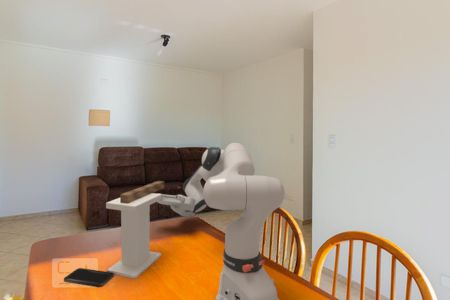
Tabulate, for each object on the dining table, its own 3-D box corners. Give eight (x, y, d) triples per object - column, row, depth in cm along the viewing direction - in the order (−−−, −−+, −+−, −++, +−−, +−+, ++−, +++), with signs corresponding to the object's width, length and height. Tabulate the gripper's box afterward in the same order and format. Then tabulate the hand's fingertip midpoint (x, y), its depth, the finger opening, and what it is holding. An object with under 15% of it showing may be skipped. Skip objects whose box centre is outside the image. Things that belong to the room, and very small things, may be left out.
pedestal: (136, 251, 115) (136, 191, 113) (161, 255, 112) (161, 194, 110) (106, 272, 98) (105, 202, 96) (135, 278, 95) (135, 206, 93)
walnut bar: (158, 187, 121) (158, 180, 121) (164, 188, 121) (164, 181, 120) (120, 202, 97) (120, 194, 96) (127, 203, 96) (127, 195, 95)
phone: (101, 285, 89) (62, 279, 92) (101, 288, 89) (62, 282, 92) (115, 272, 97) (78, 267, 100) (115, 275, 97) (79, 270, 100)
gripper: (162, 195, 144) (150, 187, 132) (198, 199, 138) (189, 191, 126) (159, 207, 141) (146, 200, 129) (195, 212, 135) (186, 204, 123)
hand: (168, 195), depth 128 cm, fingers open, 8 cm apart
